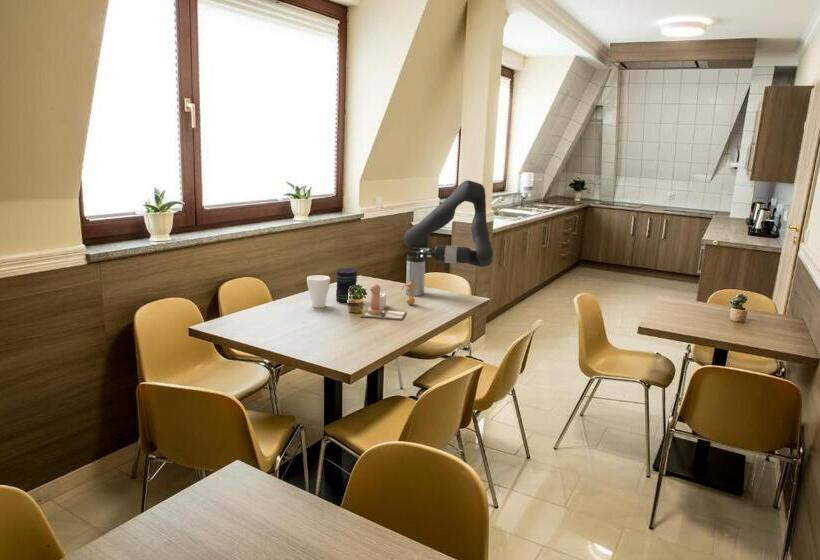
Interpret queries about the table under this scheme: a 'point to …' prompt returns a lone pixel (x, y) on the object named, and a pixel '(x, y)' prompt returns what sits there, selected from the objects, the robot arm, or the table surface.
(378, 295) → the pawn
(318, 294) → the cup
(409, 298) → the figurine
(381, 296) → the die
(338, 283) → the storage jar
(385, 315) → the game board
